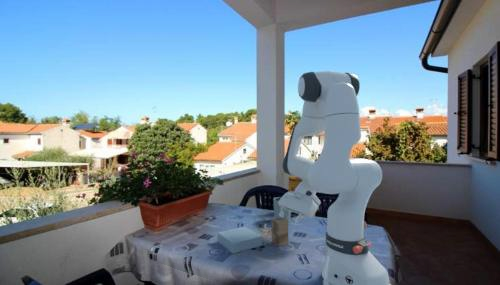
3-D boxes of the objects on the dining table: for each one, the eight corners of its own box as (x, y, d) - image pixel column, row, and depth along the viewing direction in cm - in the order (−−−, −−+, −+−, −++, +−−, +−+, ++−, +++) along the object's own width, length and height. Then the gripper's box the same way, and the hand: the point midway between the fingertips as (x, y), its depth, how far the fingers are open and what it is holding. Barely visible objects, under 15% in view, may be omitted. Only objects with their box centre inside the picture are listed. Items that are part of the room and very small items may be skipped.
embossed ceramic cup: (272, 217, 147) (273, 196, 147) (290, 218, 147) (291, 197, 147) (273, 223, 137) (273, 201, 137) (293, 224, 137) (293, 201, 137)
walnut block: (288, 243, 112) (288, 220, 112) (279, 246, 109) (279, 222, 109) (280, 239, 116) (280, 217, 116) (271, 242, 114) (271, 219, 113)
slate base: (262, 245, 110) (262, 236, 110) (233, 253, 103) (233, 243, 103) (244, 234, 122) (244, 226, 122) (217, 241, 114) (217, 232, 114)
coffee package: (307, 216, 151) (307, 178, 150) (286, 213, 155) (286, 177, 155) (309, 211, 160) (309, 175, 160) (289, 209, 165) (289, 174, 164)
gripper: (285, 186, 127) (268, 209, 122) (316, 194, 110) (299, 221, 105) (291, 194, 130) (276, 217, 125) (323, 203, 113) (307, 230, 108)
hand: (287, 219), depth 115 cm, fingers open, 8 cm apart
